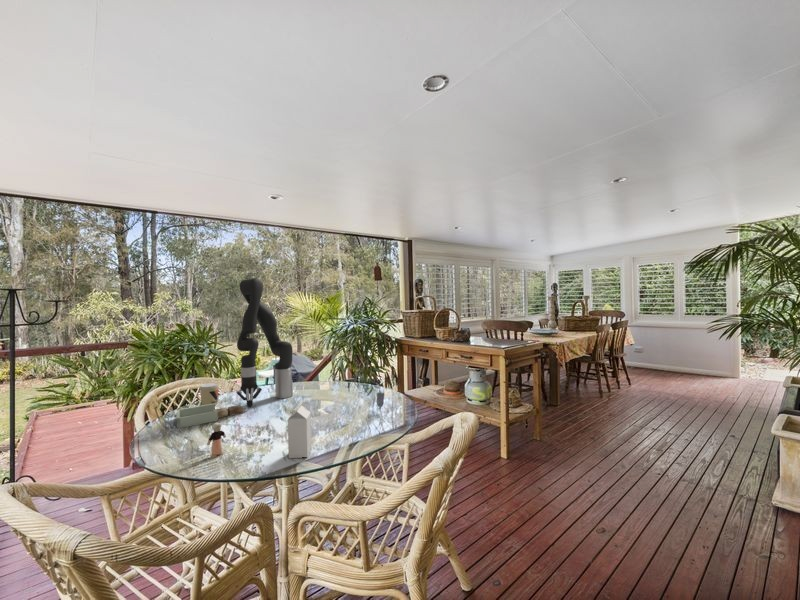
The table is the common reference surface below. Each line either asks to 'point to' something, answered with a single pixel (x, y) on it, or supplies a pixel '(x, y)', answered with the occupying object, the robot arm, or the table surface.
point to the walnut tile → (235, 410)
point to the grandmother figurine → (216, 440)
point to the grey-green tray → (196, 415)
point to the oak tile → (221, 412)
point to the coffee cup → (209, 393)
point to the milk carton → (299, 432)
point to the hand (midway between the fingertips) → (249, 407)
